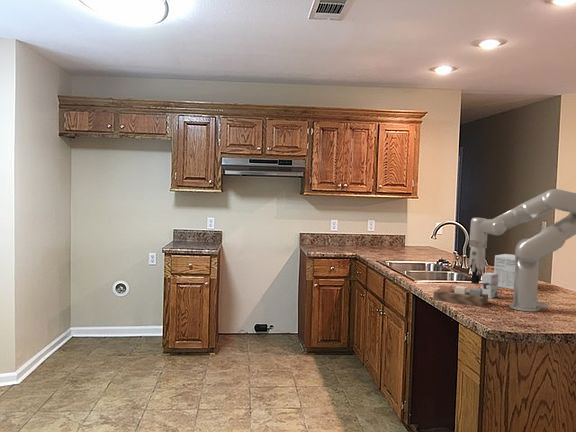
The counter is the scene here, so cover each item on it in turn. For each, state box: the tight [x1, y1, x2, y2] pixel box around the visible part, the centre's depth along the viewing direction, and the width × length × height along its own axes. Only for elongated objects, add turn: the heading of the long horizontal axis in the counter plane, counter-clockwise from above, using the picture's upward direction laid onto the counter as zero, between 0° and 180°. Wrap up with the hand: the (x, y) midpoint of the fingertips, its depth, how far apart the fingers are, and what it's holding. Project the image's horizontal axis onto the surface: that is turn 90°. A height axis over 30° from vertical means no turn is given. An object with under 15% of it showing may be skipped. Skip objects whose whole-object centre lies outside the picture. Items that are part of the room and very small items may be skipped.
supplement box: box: [493, 253, 515, 290], centre depth 271 cm, size 13×13×18 cm
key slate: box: [469, 287, 483, 297], centre depth 226 cm, size 5×5×4 cm
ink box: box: [481, 272, 499, 299], centre depth 243 cm, size 8×5×12 cm, turn 134°
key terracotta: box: [439, 283, 454, 292], centre depth 235 cm, size 5×5×4 cm
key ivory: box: [454, 285, 468, 295], centre depth 231 cm, size 5×5×4 cm
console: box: [432, 288, 489, 308], centre depth 231 cm, size 22×12×4 cm, turn 54°
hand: (475, 283), depth 226 cm, fingers closed
